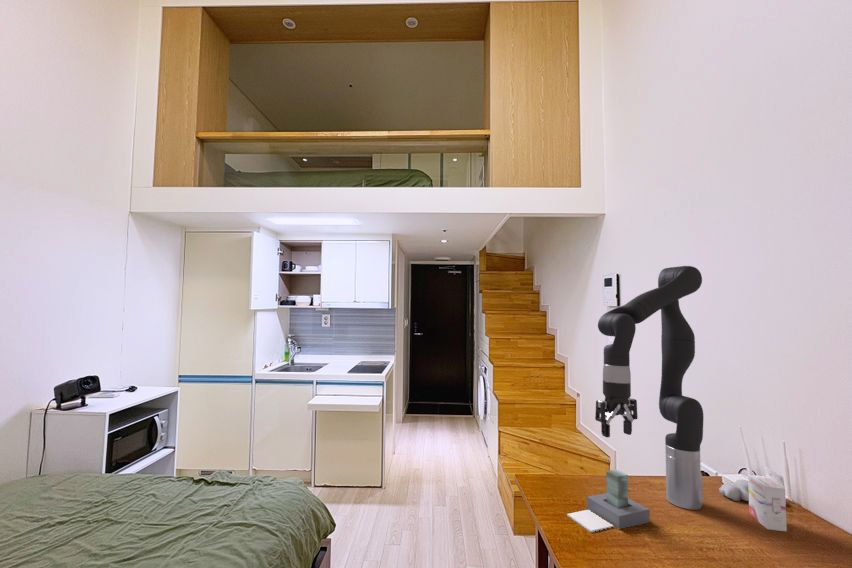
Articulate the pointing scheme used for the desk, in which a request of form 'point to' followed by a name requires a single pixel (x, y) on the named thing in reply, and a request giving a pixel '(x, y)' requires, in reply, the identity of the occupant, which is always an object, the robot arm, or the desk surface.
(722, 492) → the bunny figurine
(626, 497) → the peg
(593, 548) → the desk surface
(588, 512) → the mat
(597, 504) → the pocket holder
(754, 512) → the ink cartridge box
